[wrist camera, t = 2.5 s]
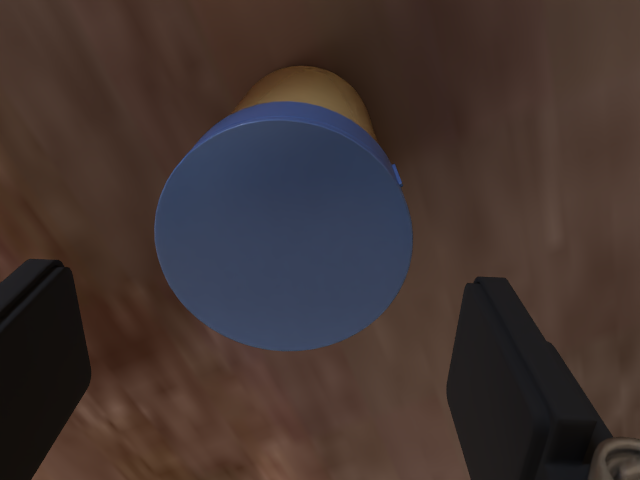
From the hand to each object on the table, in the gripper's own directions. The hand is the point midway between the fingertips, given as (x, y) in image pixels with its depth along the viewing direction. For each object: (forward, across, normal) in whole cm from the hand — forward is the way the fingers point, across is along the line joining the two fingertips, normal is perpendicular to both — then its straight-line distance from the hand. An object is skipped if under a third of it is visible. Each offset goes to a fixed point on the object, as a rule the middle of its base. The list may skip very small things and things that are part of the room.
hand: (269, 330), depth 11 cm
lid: (+4, 0, 0) cm, 4 cm away
